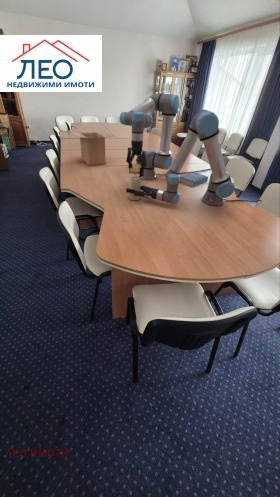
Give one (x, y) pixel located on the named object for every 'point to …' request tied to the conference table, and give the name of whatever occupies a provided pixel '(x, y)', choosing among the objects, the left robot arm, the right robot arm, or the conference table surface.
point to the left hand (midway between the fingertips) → (135, 174)
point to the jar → (134, 187)
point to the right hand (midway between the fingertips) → (129, 188)
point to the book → (193, 179)
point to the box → (92, 146)
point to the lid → (135, 170)
